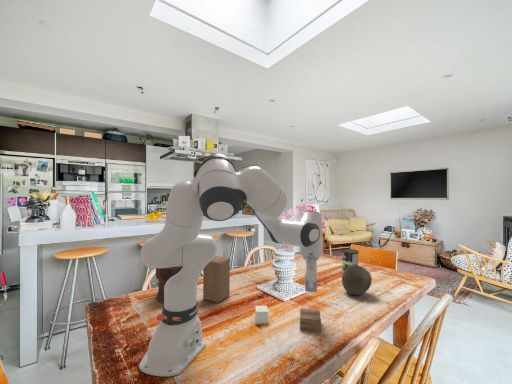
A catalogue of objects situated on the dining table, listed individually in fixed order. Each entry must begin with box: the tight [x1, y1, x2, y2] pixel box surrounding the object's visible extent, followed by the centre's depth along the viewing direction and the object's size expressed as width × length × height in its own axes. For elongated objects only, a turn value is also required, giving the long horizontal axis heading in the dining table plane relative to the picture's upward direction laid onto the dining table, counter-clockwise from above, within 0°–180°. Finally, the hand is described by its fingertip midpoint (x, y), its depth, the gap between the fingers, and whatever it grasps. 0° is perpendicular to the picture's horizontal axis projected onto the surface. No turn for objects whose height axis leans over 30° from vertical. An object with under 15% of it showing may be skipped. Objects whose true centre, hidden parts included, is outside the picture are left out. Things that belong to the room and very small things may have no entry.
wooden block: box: [202, 255, 231, 304], centre depth 122 cm, size 10×10×20 cm
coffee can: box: [341, 248, 360, 273], centre depth 163 cm, size 10×10×14 cm
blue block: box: [304, 272, 318, 293], centre depth 98 cm, size 4×4×6 cm
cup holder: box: [155, 266, 183, 305], centre depth 122 cm, size 18×24×25 cm
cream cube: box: [254, 305, 269, 325], centre depth 102 cm, size 5×5×5 cm
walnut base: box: [299, 307, 322, 333], centre depth 98 cm, size 8×8×5 cm
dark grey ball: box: [341, 264, 372, 296], centre depth 128 cm, size 14×14×15 cm
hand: (310, 284), depth 98 cm, fingers closed on blue block, 4 cm apart
